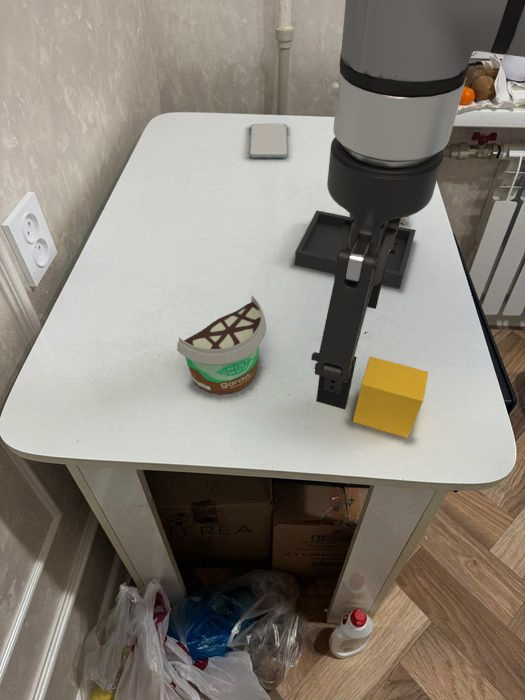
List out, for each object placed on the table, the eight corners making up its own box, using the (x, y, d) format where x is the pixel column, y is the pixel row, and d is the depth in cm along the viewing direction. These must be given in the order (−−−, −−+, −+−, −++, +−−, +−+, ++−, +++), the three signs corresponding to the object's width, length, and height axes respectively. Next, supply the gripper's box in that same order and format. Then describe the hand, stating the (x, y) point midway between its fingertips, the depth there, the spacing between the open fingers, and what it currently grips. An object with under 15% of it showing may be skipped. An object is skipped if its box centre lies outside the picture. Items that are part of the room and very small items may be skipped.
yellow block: (413, 409, 65) (428, 371, 59) (407, 438, 62) (423, 401, 56) (360, 394, 66) (369, 356, 60) (352, 422, 63) (361, 384, 57)
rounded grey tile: (286, 123, 115) (288, 154, 105) (286, 127, 116) (288, 159, 106) (250, 123, 116) (248, 154, 106) (250, 127, 116) (248, 159, 106)
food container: (211, 419, 64) (204, 370, 56) (185, 389, 67) (174, 339, 59) (284, 370, 69) (286, 320, 61) (256, 344, 72) (255, 293, 65)
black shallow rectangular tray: (412, 243, 87) (415, 229, 85) (399, 289, 80) (403, 275, 78) (315, 223, 91) (316, 210, 89) (294, 265, 84) (295, 251, 82)
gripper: (371, 65, 42) (342, 264, 58) (274, 236, 27) (271, 441, 43) (463, 77, 40) (407, 278, 56) (416, 266, 25) (358, 468, 41)
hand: (349, 349), depth 50 cm, fingers open, 13 cm apart
